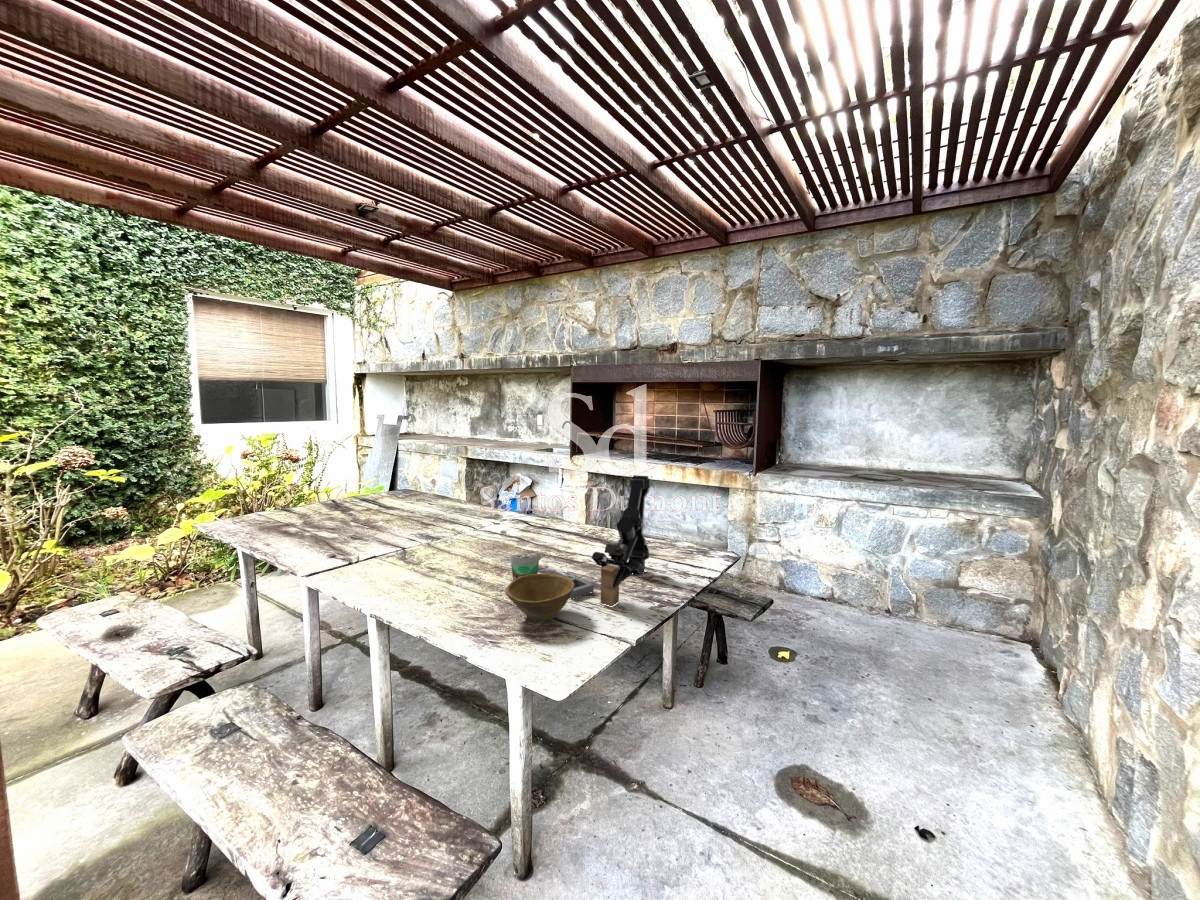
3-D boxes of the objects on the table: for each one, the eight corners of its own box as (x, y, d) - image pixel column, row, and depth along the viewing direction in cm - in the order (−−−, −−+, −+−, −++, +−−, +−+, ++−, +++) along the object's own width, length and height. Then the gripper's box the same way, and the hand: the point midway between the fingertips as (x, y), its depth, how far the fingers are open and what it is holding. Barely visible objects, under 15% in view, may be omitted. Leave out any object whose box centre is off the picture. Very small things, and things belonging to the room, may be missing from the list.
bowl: (492, 614, 161) (491, 585, 159) (547, 595, 176) (547, 568, 175) (532, 638, 145) (532, 606, 144) (589, 615, 161) (589, 585, 160)
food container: (510, 585, 185) (510, 559, 184) (509, 579, 191) (508, 554, 190) (543, 582, 188) (543, 557, 187) (540, 576, 194) (540, 551, 193)
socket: (576, 584, 187) (576, 576, 186) (593, 592, 179) (593, 584, 179) (555, 590, 180) (555, 583, 180) (571, 599, 173) (571, 591, 172)
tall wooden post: (607, 600, 173) (608, 564, 171) (618, 603, 170) (619, 567, 169) (600, 604, 169) (601, 568, 168) (611, 607, 167) (612, 570, 165)
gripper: (594, 529, 175) (575, 568, 168) (640, 538, 165) (622, 580, 157) (606, 545, 183) (589, 583, 175) (651, 555, 172) (634, 596, 164)
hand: (607, 585), depth 168 cm, fingers closed on tall wooden post, 4 cm apart
